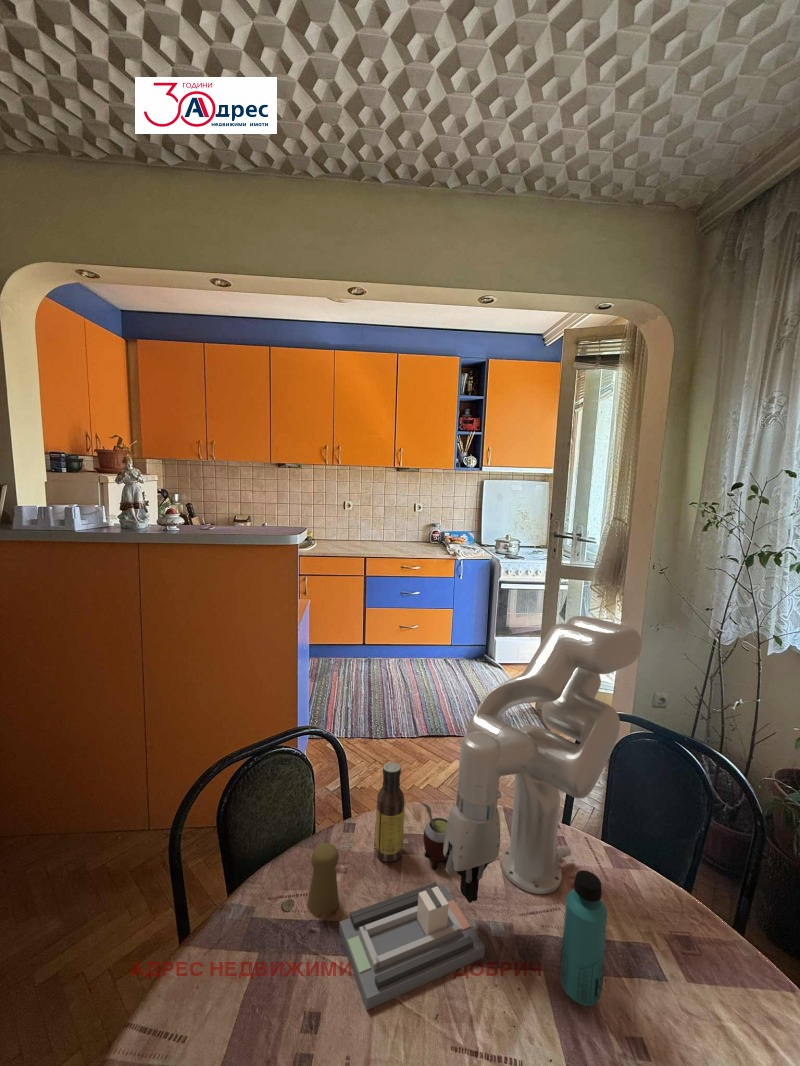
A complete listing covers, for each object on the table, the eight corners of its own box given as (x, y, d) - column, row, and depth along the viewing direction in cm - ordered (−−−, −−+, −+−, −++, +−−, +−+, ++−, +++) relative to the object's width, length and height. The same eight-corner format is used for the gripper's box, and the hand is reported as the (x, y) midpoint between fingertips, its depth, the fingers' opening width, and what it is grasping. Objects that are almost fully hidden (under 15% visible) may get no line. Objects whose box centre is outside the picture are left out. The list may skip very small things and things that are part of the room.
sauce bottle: (408, 854, 103) (413, 768, 101) (387, 868, 98) (392, 779, 97) (388, 837, 107) (393, 756, 106) (368, 851, 103) (372, 766, 102)
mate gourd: (457, 854, 104) (461, 790, 103) (447, 880, 96) (452, 812, 95) (426, 843, 106) (430, 781, 105) (414, 867, 99) (418, 801, 98)
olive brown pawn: (332, 919, 86) (335, 864, 85) (302, 912, 87) (304, 857, 86) (342, 893, 92) (345, 840, 91) (314, 886, 93) (316, 835, 92)
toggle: (435, 911, 86) (437, 884, 86) (446, 929, 82) (448, 902, 82) (416, 918, 84) (418, 891, 84) (427, 937, 81) (429, 909, 80)
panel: (443, 893, 93) (444, 878, 93) (483, 957, 80) (485, 940, 80) (338, 931, 83) (339, 915, 83) (366, 1010, 71) (367, 991, 71)
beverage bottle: (597, 1025, 70) (608, 903, 69) (553, 999, 74) (563, 882, 73) (603, 988, 76) (614, 875, 75) (562, 965, 80) (571, 856, 78)
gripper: (496, 783, 92) (489, 870, 93) (431, 798, 86) (424, 892, 87) (521, 806, 85) (513, 900, 86) (453, 824, 79) (444, 926, 80)
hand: (468, 895), depth 86 cm, fingers closed
